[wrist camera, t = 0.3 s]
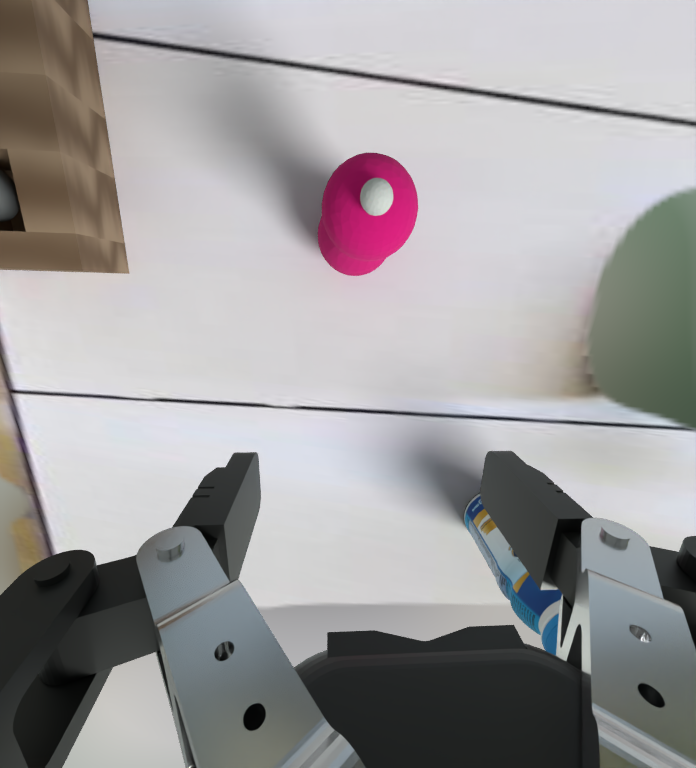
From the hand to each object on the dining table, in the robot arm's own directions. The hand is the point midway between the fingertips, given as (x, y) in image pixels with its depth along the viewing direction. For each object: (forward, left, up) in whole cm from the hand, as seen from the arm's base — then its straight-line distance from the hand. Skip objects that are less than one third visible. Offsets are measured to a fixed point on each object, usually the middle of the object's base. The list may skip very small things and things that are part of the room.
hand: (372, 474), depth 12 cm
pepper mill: (-11, +1, -29) cm, 31 cm away
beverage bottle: (+24, +22, -29) cm, 44 cm away
